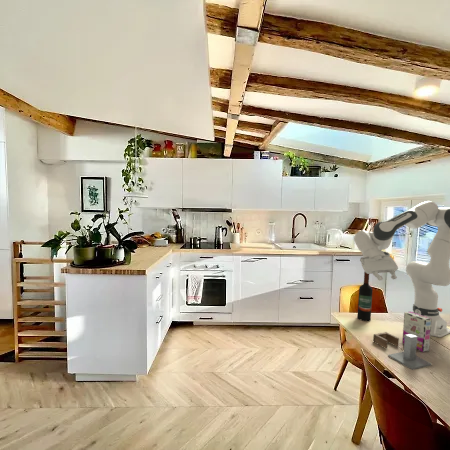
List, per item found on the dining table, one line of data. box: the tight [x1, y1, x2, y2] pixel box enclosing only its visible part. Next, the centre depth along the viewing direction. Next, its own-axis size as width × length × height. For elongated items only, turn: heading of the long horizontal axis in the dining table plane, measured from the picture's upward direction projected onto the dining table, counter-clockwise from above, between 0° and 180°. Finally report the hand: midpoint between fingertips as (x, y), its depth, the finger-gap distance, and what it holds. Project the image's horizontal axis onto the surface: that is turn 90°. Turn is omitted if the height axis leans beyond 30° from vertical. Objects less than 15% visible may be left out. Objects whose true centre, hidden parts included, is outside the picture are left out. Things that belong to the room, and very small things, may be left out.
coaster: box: [387, 351, 432, 370], centre depth 138 cm, size 12×12×1 cm
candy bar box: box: [401, 311, 432, 353], centre depth 151 cm, size 11×5×16 cm, turn 23°
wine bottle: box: [356, 271, 373, 322], centre depth 187 cm, size 8×8×30 cm
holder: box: [372, 331, 400, 349], centre depth 154 cm, size 9×7×4 cm
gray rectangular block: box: [403, 334, 417, 361], centre depth 137 cm, size 4×3×11 cm
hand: (388, 279), depth 153 cm, fingers open, 8 cm apart
